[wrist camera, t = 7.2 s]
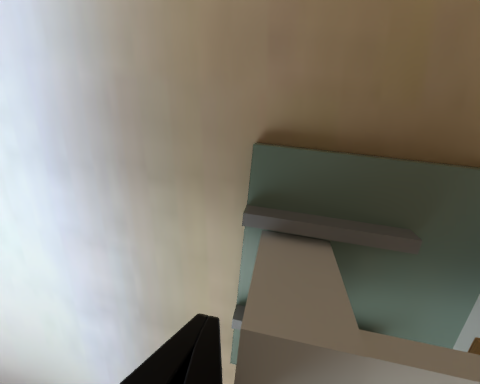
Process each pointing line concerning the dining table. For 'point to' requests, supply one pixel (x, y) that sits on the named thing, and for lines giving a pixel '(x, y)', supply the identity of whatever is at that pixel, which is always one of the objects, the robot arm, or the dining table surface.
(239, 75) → the dining table surface
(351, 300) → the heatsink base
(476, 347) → the strap
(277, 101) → the dining table surface
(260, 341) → the block
